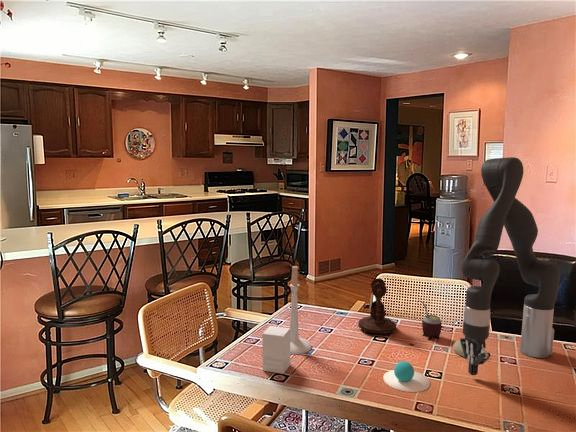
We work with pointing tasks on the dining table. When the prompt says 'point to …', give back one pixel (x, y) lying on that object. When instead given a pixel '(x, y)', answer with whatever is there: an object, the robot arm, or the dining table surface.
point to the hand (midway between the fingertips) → (472, 373)
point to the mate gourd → (431, 325)
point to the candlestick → (296, 320)
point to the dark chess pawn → (377, 312)
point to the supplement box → (276, 349)
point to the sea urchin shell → (458, 348)
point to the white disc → (414, 385)
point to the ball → (404, 371)
